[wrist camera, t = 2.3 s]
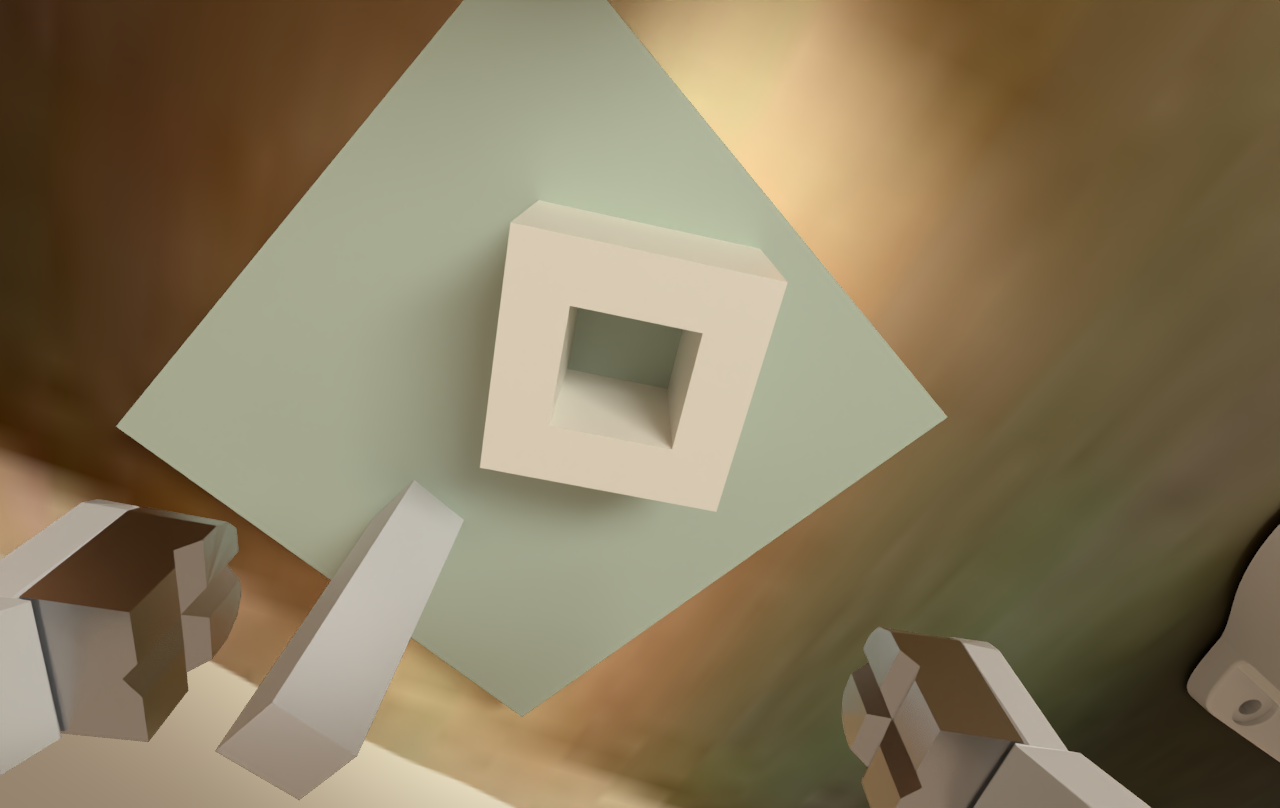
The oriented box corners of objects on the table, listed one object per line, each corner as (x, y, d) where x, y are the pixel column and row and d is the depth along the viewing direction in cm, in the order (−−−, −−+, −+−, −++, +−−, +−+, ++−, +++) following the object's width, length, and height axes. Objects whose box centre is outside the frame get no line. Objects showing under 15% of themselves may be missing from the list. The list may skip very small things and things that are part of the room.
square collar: (760, 248, 18) (787, 282, 15) (704, 442, 21) (716, 511, 17) (538, 200, 18) (510, 222, 14) (509, 404, 20) (479, 467, 17)
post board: (928, 398, 22) (1146, 619, 12) (528, 687, 28) (464, 990, 18) (544, -72, 17) (403, -323, 7) (148, 407, 22) (-226, 627, 13)
